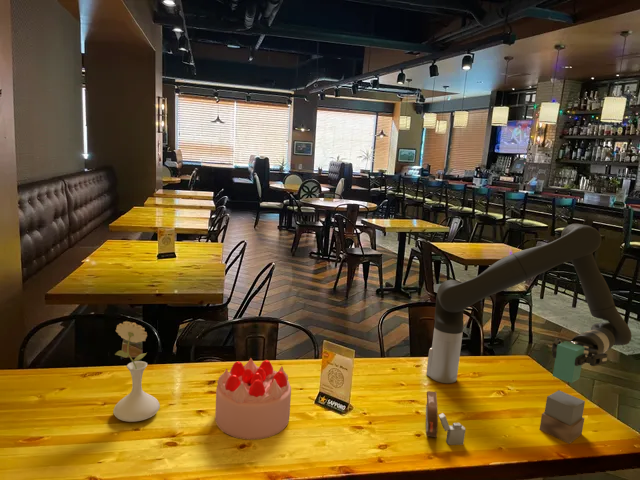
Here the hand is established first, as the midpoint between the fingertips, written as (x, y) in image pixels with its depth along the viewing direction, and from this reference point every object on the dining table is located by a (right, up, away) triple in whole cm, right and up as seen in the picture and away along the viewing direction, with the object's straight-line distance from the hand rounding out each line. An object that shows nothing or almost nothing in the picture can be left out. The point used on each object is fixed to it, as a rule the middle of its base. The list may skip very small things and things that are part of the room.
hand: (565, 358), depth 123 cm
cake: (-83, -17, +1) cm, 85 cm away
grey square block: (+2, -17, +4) cm, 18 cm away
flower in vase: (-114, -15, 0) cm, 115 cm away
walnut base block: (+1, -22, +5) cm, 23 cm away
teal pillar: (+2, -6, +3) cm, 7 cm away
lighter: (-32, -21, -4) cm, 38 cm away
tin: (-35, -20, +3) cm, 41 cm away
